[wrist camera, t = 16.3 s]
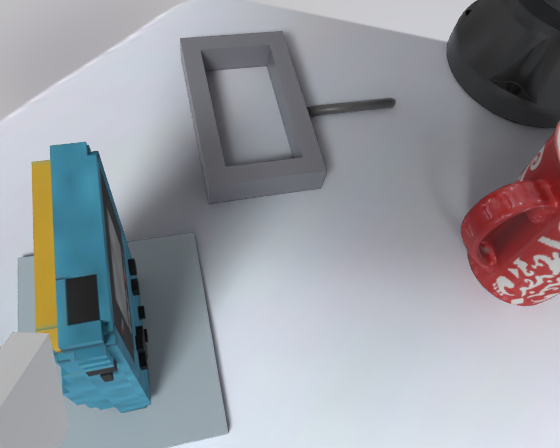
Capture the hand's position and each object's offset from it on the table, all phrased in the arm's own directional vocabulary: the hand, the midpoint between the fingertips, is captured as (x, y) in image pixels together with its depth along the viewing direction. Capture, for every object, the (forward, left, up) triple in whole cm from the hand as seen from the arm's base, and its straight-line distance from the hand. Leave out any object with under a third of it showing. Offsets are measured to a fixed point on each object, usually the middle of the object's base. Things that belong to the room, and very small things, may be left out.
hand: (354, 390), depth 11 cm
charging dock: (-9, -26, -23) cm, 36 cm away
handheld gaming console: (+8, -9, -23) cm, 26 cm away
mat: (+8, -9, -23) cm, 26 cm away
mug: (-20, -10, -24) cm, 33 cm away
